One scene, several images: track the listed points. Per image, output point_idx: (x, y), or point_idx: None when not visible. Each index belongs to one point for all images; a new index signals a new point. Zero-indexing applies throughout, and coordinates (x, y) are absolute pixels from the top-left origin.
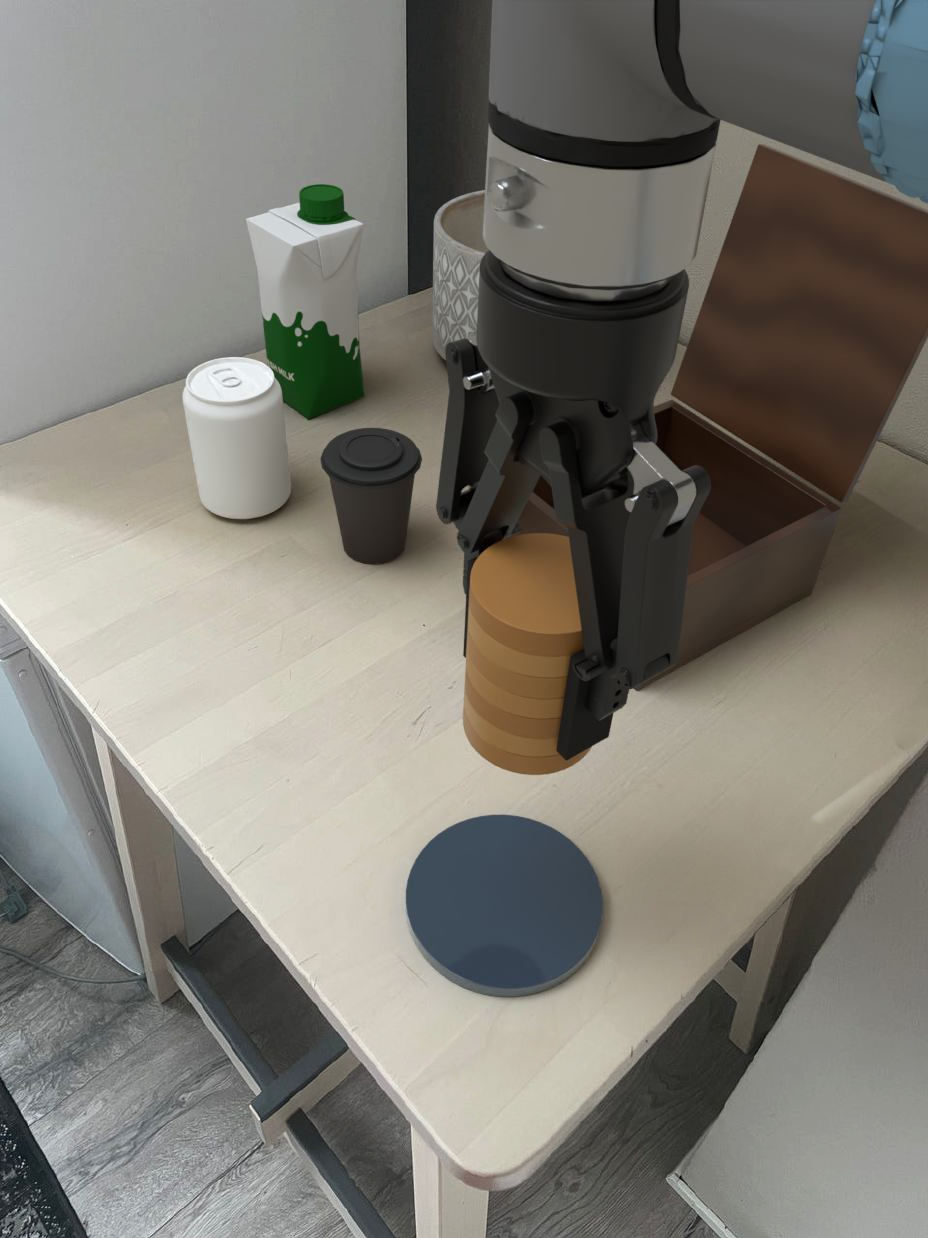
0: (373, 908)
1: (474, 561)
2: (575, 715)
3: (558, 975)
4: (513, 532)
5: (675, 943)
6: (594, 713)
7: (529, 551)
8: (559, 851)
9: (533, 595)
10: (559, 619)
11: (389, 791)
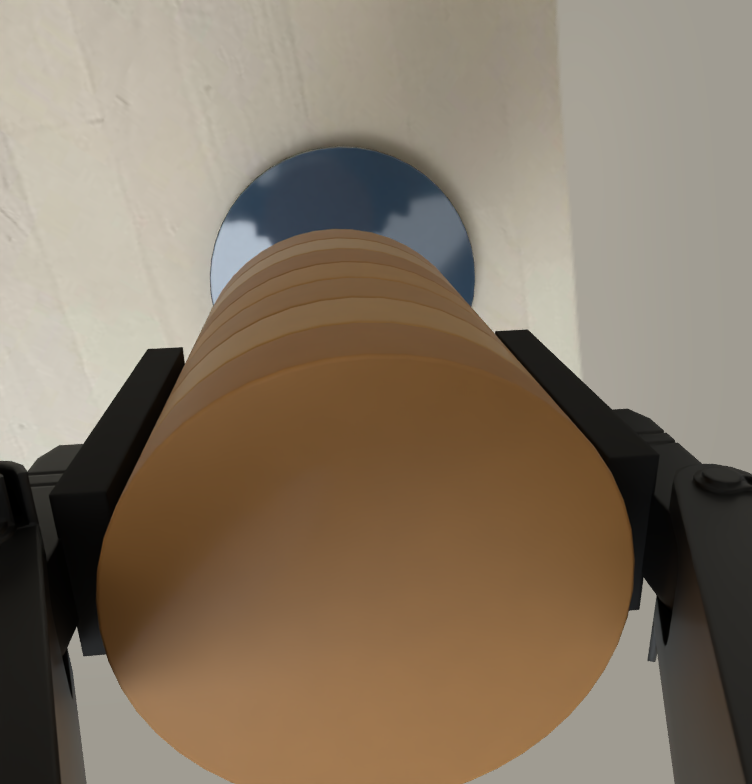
0: None
1: (97, 643)
2: None
3: (472, 293)
4: (28, 507)
5: (516, 117)
6: None
7: (209, 585)
8: (327, 177)
9: (410, 675)
10: (544, 665)
11: (101, 317)
